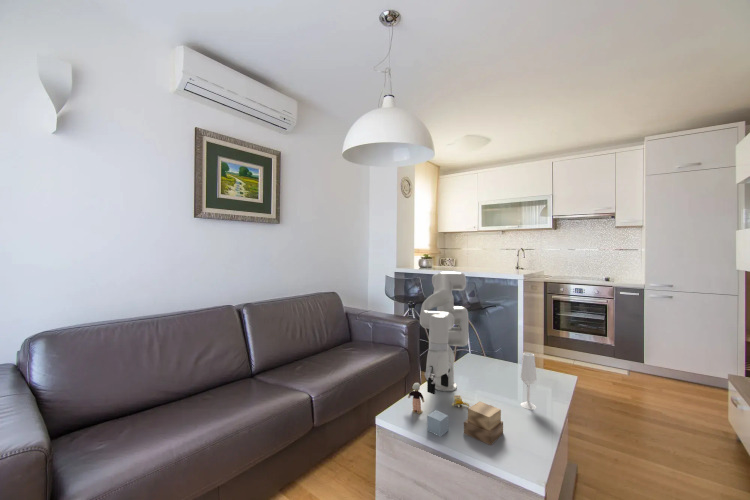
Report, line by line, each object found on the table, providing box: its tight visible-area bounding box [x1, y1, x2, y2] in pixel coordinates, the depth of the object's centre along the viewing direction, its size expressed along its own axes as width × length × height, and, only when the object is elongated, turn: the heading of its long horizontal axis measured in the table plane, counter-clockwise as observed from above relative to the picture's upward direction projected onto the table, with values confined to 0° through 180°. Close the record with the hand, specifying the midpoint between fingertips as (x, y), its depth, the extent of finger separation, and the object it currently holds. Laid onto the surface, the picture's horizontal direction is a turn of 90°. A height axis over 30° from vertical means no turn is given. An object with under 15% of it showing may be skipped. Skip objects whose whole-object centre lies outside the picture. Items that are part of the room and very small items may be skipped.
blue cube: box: [426, 409, 450, 437], centre depth 127 cm, size 6×6×6 cm
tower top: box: [467, 401, 502, 431], centre depth 125 cm, size 9×9×5 cm
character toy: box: [451, 395, 471, 408], centre depth 148 cm, size 8×3×8 cm
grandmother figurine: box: [407, 382, 425, 415], centre depth 142 cm, size 8×4×13 cm, turn 71°
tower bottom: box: [463, 418, 504, 446], centre depth 125 cm, size 11×11×5 cm
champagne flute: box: [520, 352, 537, 410], centre depth 148 cm, size 7×7×24 cm
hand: (438, 389), depth 127 cm, fingers open, 9 cm apart
